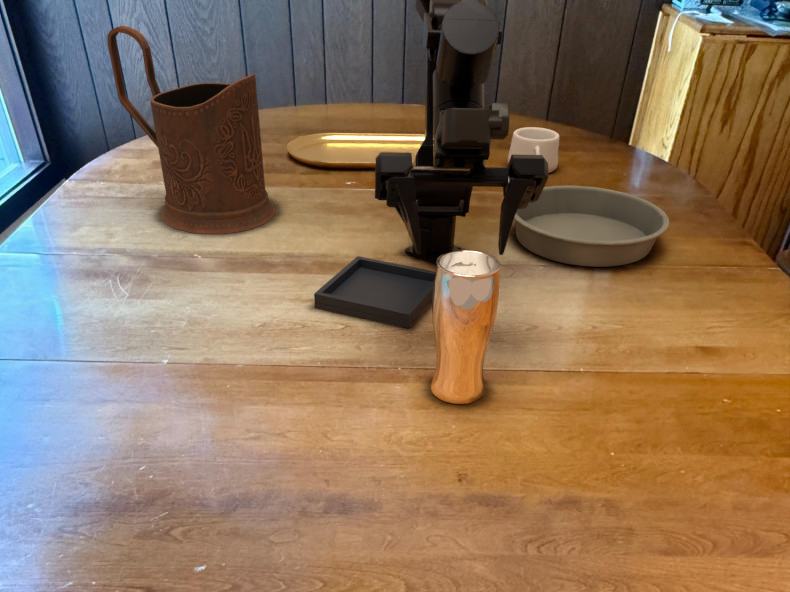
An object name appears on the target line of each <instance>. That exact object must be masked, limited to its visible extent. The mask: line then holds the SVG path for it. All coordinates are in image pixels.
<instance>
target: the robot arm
mask: <svg viewBox="0 0 790 592" xmlns="http://www.w3.org/2000/svg"><path fill="white" fill-rule="evenodd" d="M414 8H415V10H416V12H417V13H418V15H419V17H420V19H421V21H422V26H423V27H422V49H423V50H424V51H425V71H424V72H425V79H424V81H425V82H424V84H425V85H424V134H425V139H424V141H423V143H422V145H421V147H420V148H419V150H418V152H417V154H416V157H415V161H414V166H412V153H403V152H380V153H379V155H378V156H377V157H376V158H375V169H374V199H376V200H378V201H385V202H386V206H387V207H389V208H394V209H395V210H396V212H397V213H398V215H399V217H400V219H401V220H402V222H403V224H404V226H405V228H406V231H407V233H408V236H409V238H410V241H411V244H412V245H410V246H408V247H406V248H405V249H404V253H405V254H407V255H410V256H413V257H416V258H420V259H422V260H425V261H429V262H431V263H434V264H437V259H438V258H439V257H440V256H441V255H442V254H444V253H447V252H451V251H456V250H463V247H461V246H458V245H455V236H456V224H457V223H456V222H457V217H462V218H466V216H467V214H469V213H470V204H471V199H472V193H473V188H474V187H477V188H478V187H480V188H481V187H483V188H484V187H485V188H490V187H491V188H502V189H503V190H502V195H503V199H502V202H501V205H500V214H499V229H498V240H497V241H498V242H497V246H498V255H499V256H503V255H504V253H505V250H506V247H507V244H508V240H509V237H510V233H511V230H512V226H513V224H514V221H515V219H514V217H515V214H516V212H517V210H518V209H525V208H526V207H527V206H528V204H529V203H532V202H535V201H538V199H539V197H540V195H541V193H542V190H543V188H544V187H546V184H547V182H548V180H549V173H548V163H547V161H546V160H545V158H544V157H543V156H542V155H516V154H512V155H511V158H510V161H509V164H508V163H507V165H506V167H494V166H493V167H492V166H490V167H488V166H486V161H488V160H490V159H489V158H490V155H491V143H492V140H501V141H503V140H505V139H506V138H507V137H508V136H509V132H510V103H509V102H492V103H491V104H490V106H489V107H488V108H485V83H486V81H487V80H488V77H489V74H490V71H491V68H492V63H493V59H494V55H495V52H496V50H497V46H498V45H501V44H502V38H503V34H502V33H503V31H502V29H500V27H501V26H500V21H499V20H498V17H497V15H496V14H495V12H494V11H493V9H492V8H490V7H489V5H488V1H487V0H414Z"/></svg>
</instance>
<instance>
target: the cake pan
mask: <svg viewBox="0 0 790 592" xmlns="http://www.w3.org/2000/svg"><path fill="white" fill-rule="evenodd" d="M514 225H515V235H516V239H517V240H518V242H519V243H520V244H521V246H522V247H524V248H525V249H526V250H527V251H530V252H531V253H533V254H535V255H536V256H537V255H538V256H539V257H542V258H545V259H547V260H551V261H555V262H558V263H562V264H566V265H567V264H568V265H573V266H580V267H593V268H596V267H597V268H604V267H607V268H608V267H609V268H610V267H619V266H623V265H630V264H632V263H635V262H638V261H640V260H642V259H644V258H645V257H646V256H648V254H649V253H650V252H651V250H652V249H653V246H654V244H655V243H656V241H657V239H658V237H661V236H662V235H663V234H665V233H666V231H668V229H669V226H670V219H669V216H668V215H667V214H666V212H665V211H664V210H663V209H661V207H659V206H657V205H656V204H654V203H652V202H650V201H649V200H647V199H644V198H641V197H639V196H636V195H633V194H630V193H627V192H622V191H618V190H614V189H609V188H603V187H597V186H596V187H595V186H588V185H587V186H585V185H552V186H544V188H543V190H542V193H541V195H540V197H539V199H538V201H535V202H532V203H529V204H528V206H527V207H526V208H525V209H518V210H517V212H516V214H515V217H514Z"/></svg>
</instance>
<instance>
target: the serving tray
mask: <svg viewBox="0 0 790 592" xmlns="http://www.w3.org/2000/svg"><path fill="white" fill-rule="evenodd" d="M435 273H436V270H429V269H425V268H421V267H414V266H409V265H404V264H399V263H394V262H389V261H385V260H379V259H375V258H369V257H364V256H360V255H357V256H356V257H355V258H354V259H352V260H351V261H350V262H349V263H347V264H346V265H345V266H344V267H343V268H342V269H341V270H339V271H338V272H337V273H336V274H334V276H332V278H330V279H329V280H328V281H327V282H325V283H324V284H323V285H322V286H321V287H320V288H319V289H318V290H317V291H315V293H314V294H313V296H314V297H313V298H314V299H313V300H314V308H315V309H321V310H325V311H327V312H328V311H329V312H334V313H338V314H342V315H347V316H351V317H356V318H360V319H364V320H369V321H374V322H378V323H383V324H388V325H392V326H397V327H400V328H405V329H410V328H411V327H412V326H413V325H414V324H415V323H416V321H417V320H418V319H419V318H420V317H421V315H422V314H423V313H424V312H425V311H426V309H428V307H429V306H430V305H432V297H433V287H434V279H435Z"/></svg>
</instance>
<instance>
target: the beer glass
mask: <svg viewBox="0 0 790 592" xmlns="http://www.w3.org/2000/svg"><path fill="white" fill-rule="evenodd" d="M501 267H502V264H501V262H500V260H499V259H498V258H497V257H495V256H494V255H492V254H489V253H487V252H483V251H479V250H474V249H472V250H471V249H462V250H456V251H451V252H447V253H444V254H442V255H441V256H440V257H439V258H438V259H437V263H436V267H435V272H436V273H435V279H434V287H433V297H432V303H431V317H432V318H431V320H432V329H433V339H434V345H435V357H436V358H435V368H434V372H433V376H432V380H431V383H430V390H431V393H432V394H433V395H434V396H435V397H436V398H437V399H439V400H441V401H443V402H445V403H449V404H455V405H464V404H470V403H471V404H472V403H473V402H476V401H478V400H479V399H480V398H481V399H482V397H483V395H484V393H485V382H484V381H485V380H484V363H485V358H486V354H487V350H488V347H489V344H490V341H491V337H492V336H493V335H492V334H493V331H494V328H495V324H496V319H497V316H498V309H499V301H500V300H499V299H500V288H501V287H500V286H501Z"/></svg>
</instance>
